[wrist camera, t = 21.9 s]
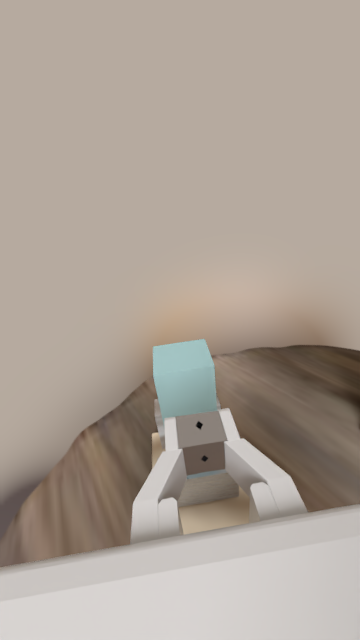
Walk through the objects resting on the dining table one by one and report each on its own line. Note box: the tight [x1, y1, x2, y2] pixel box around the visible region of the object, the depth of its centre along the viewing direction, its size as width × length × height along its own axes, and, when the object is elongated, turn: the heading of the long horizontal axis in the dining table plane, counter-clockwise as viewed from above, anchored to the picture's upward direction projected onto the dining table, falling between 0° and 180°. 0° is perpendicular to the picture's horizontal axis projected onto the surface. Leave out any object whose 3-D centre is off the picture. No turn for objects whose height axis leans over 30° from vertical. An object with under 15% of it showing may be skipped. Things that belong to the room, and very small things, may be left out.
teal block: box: [153, 339, 217, 425], centre depth 30 cm, size 5×6×18 cm
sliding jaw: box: [157, 458, 239, 507], centre depth 30 cm, size 3×9×5 cm, turn 96°
